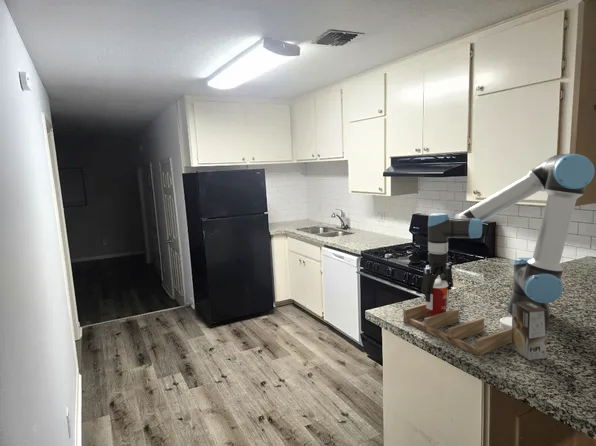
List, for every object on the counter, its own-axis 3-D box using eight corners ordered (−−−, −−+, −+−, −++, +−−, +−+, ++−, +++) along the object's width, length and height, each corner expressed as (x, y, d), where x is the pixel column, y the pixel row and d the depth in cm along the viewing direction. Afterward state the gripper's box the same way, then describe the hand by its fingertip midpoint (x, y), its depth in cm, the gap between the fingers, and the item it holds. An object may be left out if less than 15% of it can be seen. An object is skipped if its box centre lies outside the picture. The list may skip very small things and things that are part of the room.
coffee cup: (450, 321, 153) (450, 284, 151) (428, 320, 155) (428, 284, 153) (446, 312, 161) (446, 278, 159) (426, 312, 163) (425, 278, 161)
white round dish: (502, 335, 142) (503, 325, 141) (496, 324, 151) (496, 315, 151) (533, 336, 139) (533, 327, 138) (525, 325, 148) (525, 316, 148)
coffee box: (547, 358, 123) (549, 310, 121) (528, 360, 123) (530, 312, 121) (527, 345, 132) (529, 300, 130) (510, 347, 132) (511, 302, 130)
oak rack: (512, 342, 135) (512, 328, 135) (478, 355, 127) (478, 341, 127) (434, 311, 166) (434, 300, 165) (403, 321, 158) (403, 309, 157)
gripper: (448, 247, 162) (448, 299, 165) (411, 254, 153) (411, 309, 156) (463, 250, 156) (462, 304, 159) (425, 257, 146) (425, 315, 149)
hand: (437, 306), depth 157 cm, fingers closed on coffee cup, 8 cm apart
